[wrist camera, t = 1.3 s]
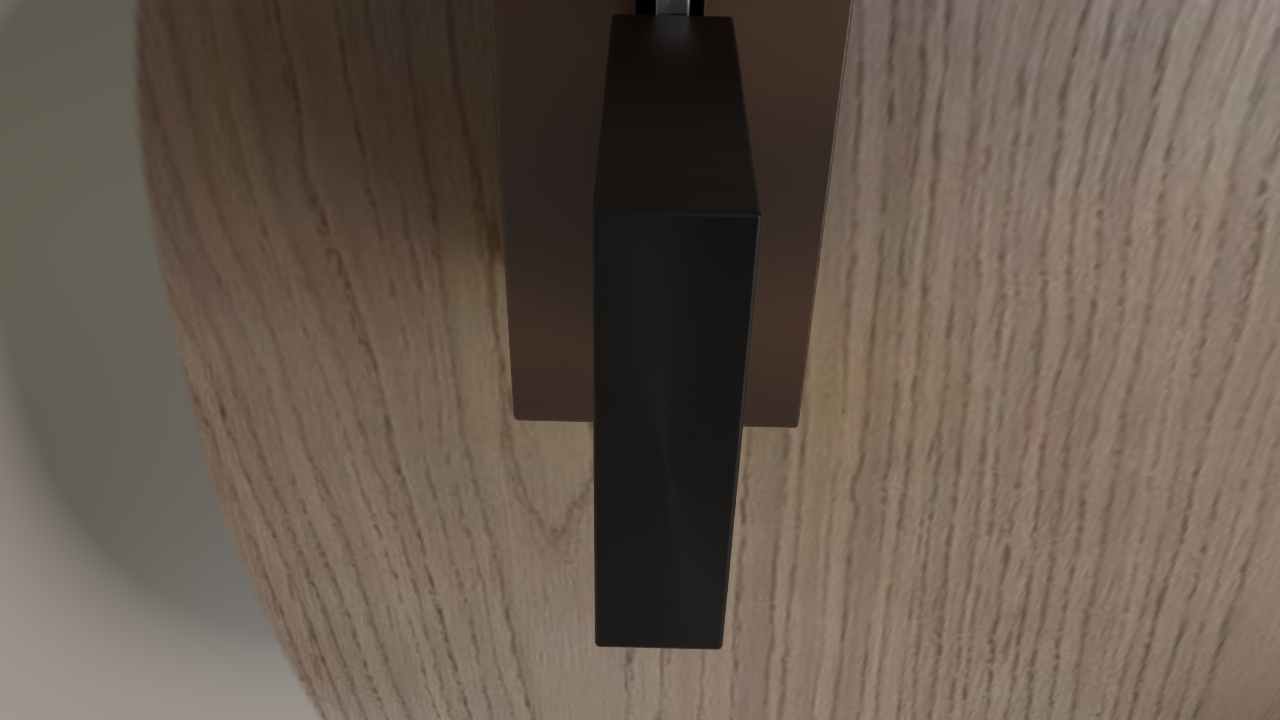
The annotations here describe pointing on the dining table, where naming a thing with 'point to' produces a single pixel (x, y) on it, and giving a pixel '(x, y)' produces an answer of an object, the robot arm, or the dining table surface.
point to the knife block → (566, 169)
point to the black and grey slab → (670, 325)
